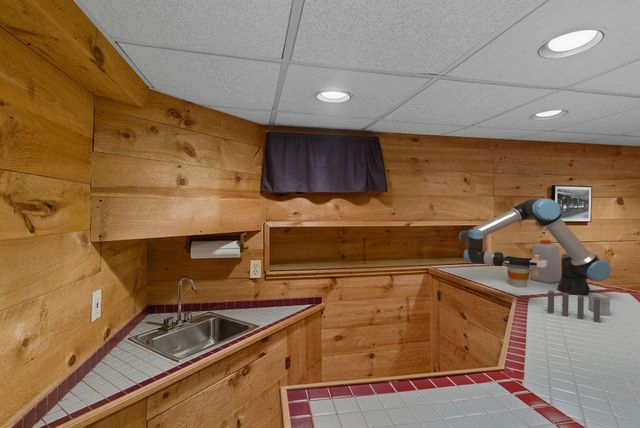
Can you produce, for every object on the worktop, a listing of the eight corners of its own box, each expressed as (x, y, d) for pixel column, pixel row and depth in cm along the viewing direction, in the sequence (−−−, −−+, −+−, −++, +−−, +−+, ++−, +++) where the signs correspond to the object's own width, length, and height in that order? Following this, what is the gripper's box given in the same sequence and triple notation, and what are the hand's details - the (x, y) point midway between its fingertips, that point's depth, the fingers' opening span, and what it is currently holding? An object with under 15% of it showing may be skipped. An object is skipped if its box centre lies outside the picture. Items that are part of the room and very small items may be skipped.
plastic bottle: (527, 279, 213) (527, 239, 212) (540, 277, 219) (540, 238, 218) (550, 284, 199) (550, 241, 199) (564, 281, 205) (564, 240, 205)
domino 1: (547, 313, 146) (547, 292, 146) (548, 310, 150) (549, 290, 150) (552, 314, 145) (553, 293, 145) (553, 311, 149) (554, 291, 148)
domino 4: (593, 321, 135) (593, 299, 135) (593, 318, 139) (593, 296, 139) (599, 322, 134) (599, 300, 134) (599, 319, 138) (599, 297, 137)
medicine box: (610, 315, 142) (610, 297, 142) (599, 315, 143) (599, 297, 143) (598, 310, 150) (598, 292, 150) (588, 309, 151) (588, 292, 151)
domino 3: (577, 318, 139) (577, 297, 139) (577, 315, 143) (578, 294, 142) (583, 319, 138) (583, 297, 137) (583, 316, 141) (583, 295, 141)
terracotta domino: (533, 275, 154) (533, 255, 154) (535, 273, 158) (535, 254, 157) (538, 275, 153) (538, 256, 152) (539, 274, 156) (540, 255, 156)
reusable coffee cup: (507, 282, 205) (507, 260, 205) (530, 284, 198) (530, 262, 198) (506, 286, 195) (506, 263, 195) (529, 289, 188) (529, 265, 188)
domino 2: (562, 315, 143) (562, 294, 142) (562, 312, 146) (563, 292, 146) (567, 316, 141) (567, 295, 141) (568, 313, 145) (568, 293, 145)
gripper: (498, 263, 175) (548, 268, 159) (489, 267, 162) (543, 274, 146) (498, 250, 175) (548, 254, 159) (489, 253, 162) (543, 259, 146)
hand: (545, 264), depth 152 cm, fingers closed on terracotta domino, 5 cm apart
